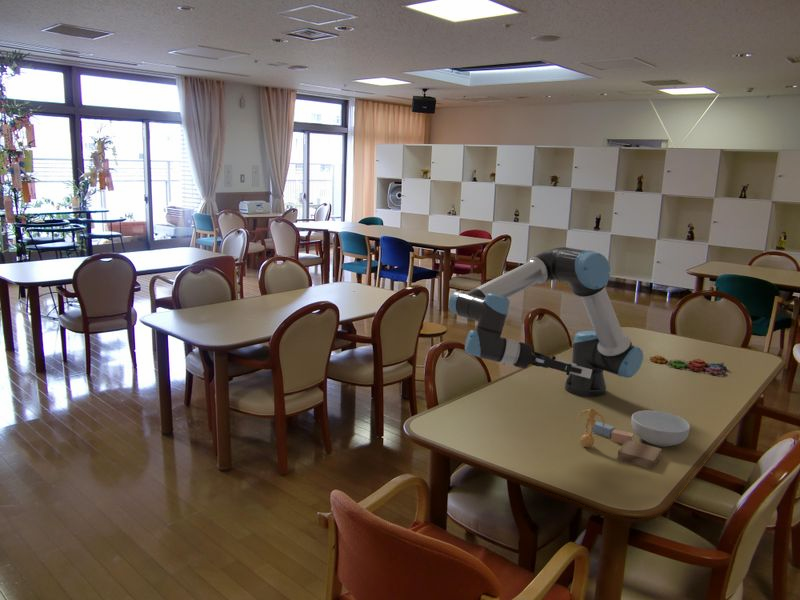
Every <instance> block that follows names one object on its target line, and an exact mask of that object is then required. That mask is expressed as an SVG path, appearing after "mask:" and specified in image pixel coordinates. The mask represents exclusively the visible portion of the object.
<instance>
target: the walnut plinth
mask: <svg viewBox="0 0 800 600" xmlns="http://www.w3.org/2000/svg"><path fill="white" fill-rule="evenodd" d="M662 451H663V450H662V448H660V447H658V446H654V445H649V444H645V443H640V442H637V441H634V440H633V441H630V440H627V441H626V442H625V443H624V444H623V445H621V447H620V448H619V449H618V450H617V460H618V461H621V462H625V463H629V464H633V465H635V466H639V467H644V468H647V469H649V470H650V469H651V470H654V468H655V467H656V466H657V464H658V462H659V461H660V459H661V457H662Z"/></svg>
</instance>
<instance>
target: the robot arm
mask: <svg viewBox="0 0 800 600" xmlns="http://www.w3.org/2000/svg"><path fill="white" fill-rule="evenodd" d="M610 272H611V266H610V262H609V261H608V259H607V257H606V256H605V255H603V254H601V253H600V252H596V251H593V250H586V249H585V250H584V249H579V248H573V247H572V248H571V247H568V246H567V247H565V246H561V247H560V246H559V247H554V248H551V249H550V248H549V249H548V250H544V251H542V252H540V253H537V254H535V255H533V256H531V257H529V258H528V259H527V261H526V263H524V264H522V265H520V266H518V267H516V268H514V269H511V270H510V271H507V272H505V273H504V274H502V275H500V276H498V277H495V278H493V279H491V280H489V281H488V282H485V283H483V284H481V285H479V286H478V287H475V288H473V289H471V290H469V291H466V292H465V291H455V292H453V293H452V294H451V296H450V298H449V300H448V307H449V310H450V312H452V313H453V314H455V315H457V316H459V317H463V318H466V319H470V320H472V321H476V322H477V326H476V329H470V330H469V331H468V333H467V336H466V337H465V341H464V342H465V343H464V351H465V353H466V354H467V355H471V356H474V357H477V358H481V359H484V360H487V361H488V360H489V361H492V362H498V363H501V365H502V366H505V365H510V366H512V365H513V366H514V367H516V368H520V369H523V370H524V369H527V368H528V367H529V365H530V363H531V365H533V366H535V367H541V368H545V369H549V368H550V369H552V370H557V371H561V372H564V373H566V374H565V375H566V376H567V377H566V380H565V381H564V383H565V384H564V389H565V390H566V391H568V392H569V393H571V394H573V395H576V396H582V397H588V398H590V397H592V398H593V397H594V398H595V397H596V398H598V397H602V396H605V395H606V392H607V385H606V384H607V383H606V381H605V376H604V372H608V373H610V374H613V375H617V376H618V377H623V378H626V379H627V378H632V377H634V376H635V375H636V374H637V373H638V372H639V370H640V368H641V366H642V364H643V362H644V352H643V351H644V350H643V349H642V348H640V347H639V346H635V345H634V344H632V339H631V338H630V337H629V335H628V334H626V333H624V332H623V329H622V328H621V324H620V322H619V320H618V317H617V315H616V312H615V309H614V307H613V305H612V302H611V299H610V296H609V294H608V291H607V289H606V287H607V285H608V282H609V280H610V277H611V274H610ZM549 281H556V282H557V281H558V282H561V283H566V284H569V286H570V287H571V290H572V292H573V294H574V295H575V296H577V297H579V298H580V300H581V302H582V305H583V306H584V309H585V311H586V314H587V316H588V319H589V321H590V323H591V325H592V328H593V330H583V331H578V332H576V333H575V335H574V338H573V345H572V357H571V358H572V359H571V362H570V361H566V360H562V359H559V358H557V357H556V356H554V355H552V356H548V355H544V354H543V353H541V352H536V351H534V353H533V346H532V345H531V344H530V343H525V342H521V341H520V342H519V341H518V340H514V339H511V338H506V337H503V336H502V332H503V329H504V326H505V322H506V318H507V316H508V313H509V306H510V302H511V301H510V299H509V298H510V297H512V296H514V295H515V294H518V293H520V292H521V291H524V290H525V289H528V288H529V287H531V286H533V285H536V284H544V283H546V282H549Z"/></svg>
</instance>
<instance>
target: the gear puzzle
mask: <svg viewBox="0 0 800 600" xmlns="http://www.w3.org/2000/svg"><path fill="white" fill-rule="evenodd" d="M649 361H652V362H653V363H658V364H666V366H667V367H668V368H670V369H679V370H681V371H687V372H697V373H699V374H702V375H703V374H704V375H709V376H712V375H713V376H714V375H715V376H716V377H720V378H724V377H725V374H726V371H727V369H728V368H727V366H725V363H724V362H723V361H720V362H718V363H717V362H716V363H715V362H713V363H708V362H705V360H703V359H700V358H694V359H693V360H685V359H683V358H681V359H678V358H677V359H676V358H673V359H669V360H668V359H667V358H666V357H665V356H664V355H663V356H662V355H656V354H655V355H654V356H650V357H649Z"/></svg>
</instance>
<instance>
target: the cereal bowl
mask: <svg viewBox="0 0 800 600" xmlns="http://www.w3.org/2000/svg"><path fill="white" fill-rule="evenodd" d="M630 422H631V428H632V431H633V432H634V433H635V435H637V436H638V438H640V439H641V440H644V441H645V442H647V443H648V444H650V445H651V446H655V447H670V446H676V445H679V444H681V443H683V442H685V440H686V439H687V438H688V436H689V434H690V430H691V425H690V423H689V422H688V421H687V420H685V419H684V418H682V417H681V416H678V415H676V414H673V413H670V412H667V411H666V412H665V411H661V410H649V409H646V410H645V409H644V410H639V411H636V412H633V413H632V415H631V419H630Z"/></svg>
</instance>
